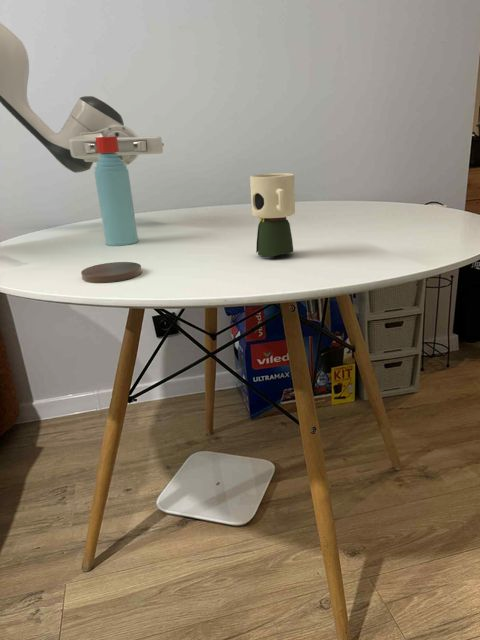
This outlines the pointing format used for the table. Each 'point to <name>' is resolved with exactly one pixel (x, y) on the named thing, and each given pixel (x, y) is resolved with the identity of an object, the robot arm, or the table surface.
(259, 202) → the character mug
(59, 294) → the table surface
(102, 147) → the cap
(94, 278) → the coaster
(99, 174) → the bottle
